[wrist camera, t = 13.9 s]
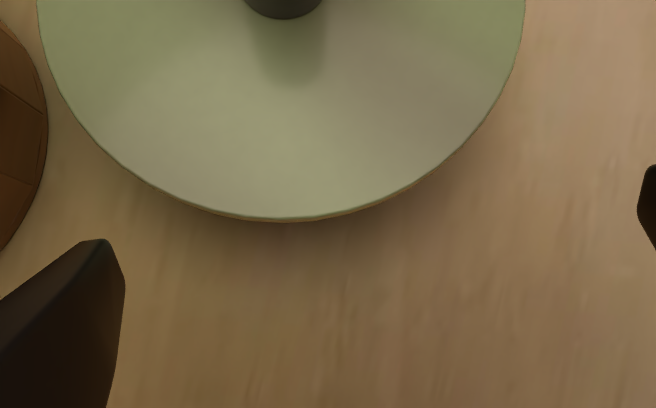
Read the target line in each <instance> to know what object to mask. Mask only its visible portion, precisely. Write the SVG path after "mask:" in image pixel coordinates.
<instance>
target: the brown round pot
mask: <svg viewBox="0 0 656 408" xmlns="http://www.w3.org/2000/svg"><path fill="white" fill-rule="evenodd" d="M47 136H48V125H47V109H46V104H45V99H44V94H43V89H42V86H41V83H40V80H39V78H38V75H37V72H36V69H35V67H34V65H33V63H32V61H31V59H30V58H29V56H28V54H27V52H26V50H25V48H24V47H23V46H22V45H21V43H20V42H19V40H18V39H17V38H16V36H15V35H14V34H13V32H12V31H11V30H10V29H9V28H8V27H7V26H6V25H5V24H4V23H3V22H2V21H1V20H0V250H1V249H2V248H3V247H4V246H5V245H6V243H7V242H8V241H9V239H10V238H11V236H12V235H13V234H14V232H15V231H16V229H17V228H18V226H19V225H20V223H21V222H22V220H23V218H24V216H25V214H26V212H27V210H28V208H29V206H30V204H31V202H32V200H33V198H34V195H35V192H36V189H37V187H38V184H39V181H40V178H41V175H42V170H43V166H44V161H45V157H46V148H47Z"/></svg>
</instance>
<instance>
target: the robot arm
mask: <svg viewBox="0 0 656 408" xmlns="http://www.w3.org/2000/svg"><path fill="white" fill-rule="evenodd" d="M637 216H638V219H639V221H640V223H641V225H642V227H643V229H644V230H645V232H646V234H647V236H648V237H649V239H650V241H651V243H652V244H653V246H654V248H655V250H656V164H654V165H651V166H650V167H649V168H648V169H647V170H646V172H645V175H644V179H643V183H642V187H641V191H640V196H639V200H638V204H637ZM124 298H125V280H124V276H123V273H122V271H121V268H120V266H119V263H118V261H117V258H116V256H115V253H114V251H113V248H112V246H111V244H110V243H109V242H108V241H107V240H106V239H95V240H87V241H82V242H79V243H78V244H77V245H75V246H74V247H72V248H71V249H70V250H68V251H67V252H66V253H64V254H63V255H62V256H60V257H59V258H57V259H56V260H55V261H53V262H52V263H51V264H49V265H48V266H47V267H45V268H44V269H42V270H41V271H40V272H38V273H37V274H36V275H34V276H33V277H32V278H30V279H29V280H27V281H26V282H25V283H23V284H22V285H21V286H19V287H18V288H17V289H15V290H14V291H12V292H11V293H10V294H8V295H7V296H6V297H4V298H3V299H2V300H0V408H106V405H107V401H108V398H109V394H110V390H111V386H112V381H113V377H114V372H115V367H116V360H117V353H118V345H119V337H120V329H121V322H122V314H123V306H124Z"/></svg>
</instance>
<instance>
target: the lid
mask: <svg viewBox="0 0 656 408" xmlns="http://www.w3.org/2000/svg"><path fill="white" fill-rule="evenodd" d="M36 6H37V15H38V23H39V32H40V38H41V41H42V45H43V49H44V53H45V56H46V60H47V64H48V67H49V69H50V71H51V74H52V76H53V78H54V81H55V83H56V85H57V88H58V90H59V92H60V94H61V96H62V97H63V99H64V101H65V102H66V104H67V105H68V107H69V109H70V110H71V112H72V114H73V115H74V117H75V118H76V120H77V121H78V122H79V124H80V125H81V126H82V127H83V128H84V130H85V131H86V132H87V133H88V134H89V136H90V137H91V138H92V139H93V140H94V142H95V143H96V144H97V145H98V146H99V147H100V148H101V149H102V150H103V151H105V152H106V153H107V154H108V155H109V156H110V157H111V158H112V159H113V160H115V161H116V162H117V163H118V164H119V165H120V166H121V167H123V168H124V169H125V170H127V171H128V172H130V173H131V174H133V175H134V176H136V177H137V178H139V179H140V180H142V181H143V182H145V183H146V184H148V185H149V186H150V187H152V188H153V189H155V190H157V191H159V192H161V193H163V194H165V195H167V196H169V197H171V198H173V199H175V200H177V201H179V202H181V203H184V204H186V205H189V206H192V207H195V208H198V209H201V210H204V211H207V212H210V213H213V214H217V215H222V216H227V217H232V218H237V219H242V220H247V221H260V222H275V223H288V222H304V221H316V220H321V219H327V218H332V217H337V216H342V215H347V214H350V213H353V212H356V211H359V210H362V209H365V208H368V207H371V206H374V205H377V204H380V203H382V202H384V201H386V200H388V199H390V198H392V197H394V196H396V195H398V194H400V193H402V192H404V191H406V190H408V189H410V188H411V187H413V186H414V185H416V184H417V183H419V182H420V181H422V180H423V179H425V178H426V177H428V176H429V175H431V174H432V173H434V172H435V171H436V170H437V169H439V168H440V167H441V166H442V165H443V164H444V163H445V162H447V161H448V160H449V159H450V158H451V157H452V156H453V155H455V154H456V153H457V152H458V151H459V150H460V149H461V148H462V147H463V145H464V144H465V143H466V142H467V141H468V140H469V139H470V137H471V136H472V135H473V134H474V133H475V132H476V130H477V129H478V128H479V127H480V126H481V125H482V123H483V122H484V121H485V119H486V118H487V116H488V114H489V113H490V111H491V110H492V108H493V107H494V105H495V104H496V102H497V100H498V99H499V97H500V95H501V93H502V91H503V89H504V87H505V85H506V82H507V80H508V78H509V76H510V74H511V71H512V69H513V66H514V63H515V59H516V56H517V53H518V49H519V46H520V42H521V38H522V31H523V24H524V17H525V0H37V2H36Z"/></svg>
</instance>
